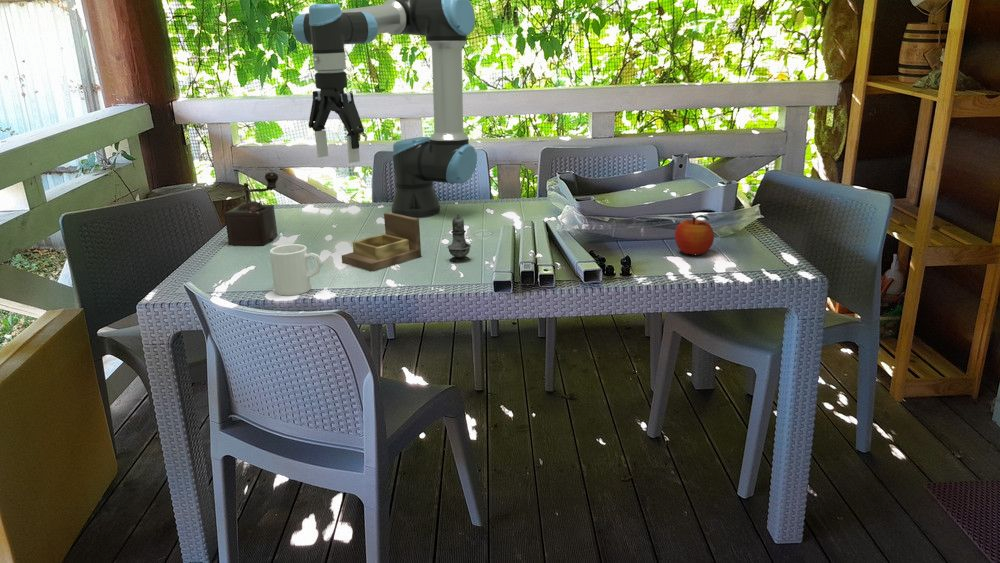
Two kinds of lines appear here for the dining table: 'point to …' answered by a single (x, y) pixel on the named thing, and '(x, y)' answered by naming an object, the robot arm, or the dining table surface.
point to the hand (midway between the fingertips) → (338, 159)
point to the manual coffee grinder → (252, 219)
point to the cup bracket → (387, 245)
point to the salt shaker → (458, 242)
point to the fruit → (694, 236)
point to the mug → (292, 269)
